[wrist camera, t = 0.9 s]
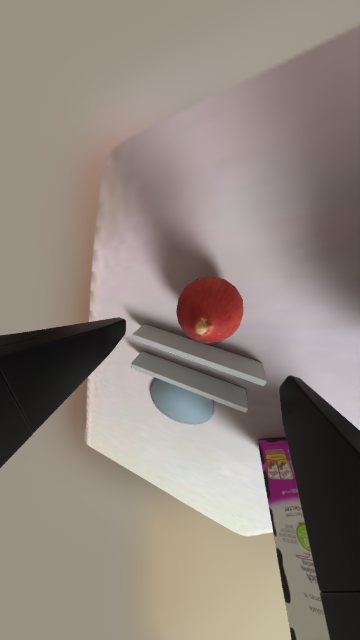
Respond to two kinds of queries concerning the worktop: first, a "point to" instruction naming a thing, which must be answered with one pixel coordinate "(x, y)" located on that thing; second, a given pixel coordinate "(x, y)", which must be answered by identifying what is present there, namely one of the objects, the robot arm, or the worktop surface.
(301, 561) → the candy bar box
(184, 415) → the mat
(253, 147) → the worktop surface
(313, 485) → the robot arm
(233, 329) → the onion
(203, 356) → the low walls
